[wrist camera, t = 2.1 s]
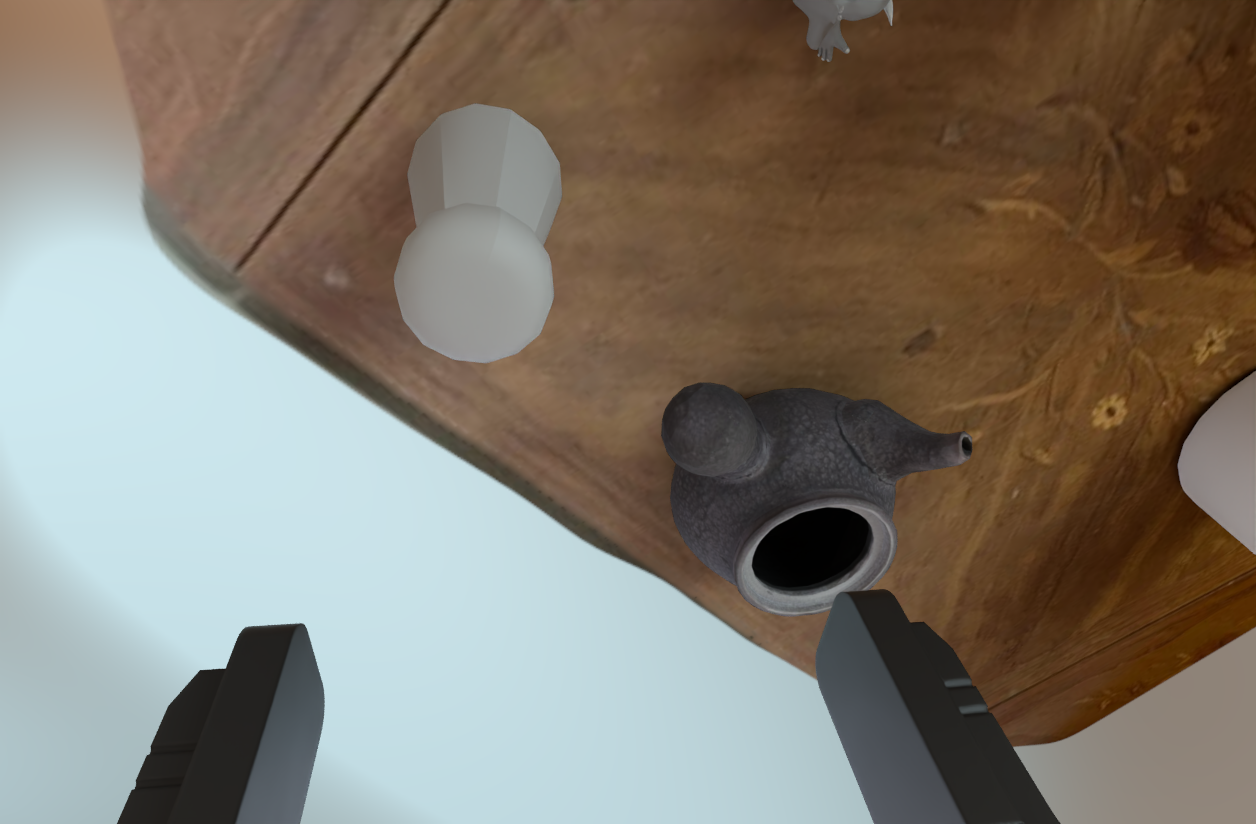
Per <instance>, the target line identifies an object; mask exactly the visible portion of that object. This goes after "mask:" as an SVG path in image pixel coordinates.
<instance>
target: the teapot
mask: <svg viewBox="0 0 1256 824" xmlns="http://www.w3.org/2000/svg"><path fill="white" fill-rule="evenodd" d="M661 436H662V439H663V442H664V445H665V448H666V451H667V453H668V454H669V456H670V457H671V458H672V460H673V461H674V462H675V463H676V466H675V469H674V474H673V479H672V484H671V495H670V500H671V507H672V512H673V517H674V522H675V524H676V526H677V529H678V531H679V533H680V534H681V536H682V538H683V540H684V542H685V543H686V544H687V546H688V547H689V548H690V550H691V551H692V552H693V553H694V554H695V555H696V556H697V558H698V559H699V560H701V561H702V562H703V563H704V564H705V565H706V566H707V567H708V568H710V569H711V570H712V571H714V572H715V573H717V574H718V575H720V576H721V577H723V578H724V579H726V580H727V581H729V582H730V583H732V584H734V585H736V586H737V588H738V591H739V592H740V594H741V595H742V596H743V598H744V599H745V600H746V601H747V602H749V603H750V604H751V605H753V606H754V607H756V608H758V609H760V610H762V611H765V612H769V613H772V614H776V615H781V616H802V615H812V614H817V613H822V612H825V611H828V610H831V608H832V605H833V602H834V599H835V597H836V595H837V594H838V593H840V592H848V591H864V590H869V589H871V588H872V587H873V586H874V585H875V584H876V583H877V582H878V581H879V580H880V579H881V578H882V577H883V576H884V574H885V573H886V572H887V570H888V569H889V568H890V565H891V563H892V561H893V558H894V556H895V553H896V549H897V530H896V528H895V526H894V523H893V521H892V516H893V510H894V504H895V494H896V490H895V484H896V481H897V480H899V479H901V478H903V477H905V476H906V475H908V474H910V473H913V472H921V471H928V470H934V469H941V468H946V467H951V466H956V465H961V464H962V463H964V462H965V461H967V460H968V459H970V456H971V453H972V437H971V436H970V435H969V434H967V433H966V432H965V431H963V432H957V433H951V434H941V433H935V432H930V431H928V430H926V429H924V428H922V427H920V426H919V425H917V424H915V423H913V422H911V421H909V420H908V419H906V418H905V417H903V416H901V415H900V414H898V413H896V412H895V411H894V410H892V409H891V408H889V407H887V406H886V405H884V404H883V403H881V402H880V401H878V400H869V399H863V400H857V401H853V400H851V399H849V398H846V397H844V396H842V395H837V394H833V393H828V392H824V391H819V390H815V389H810V388H791V389H779V390H772V391H769V392H765V393H762V394H758V395H755V396H753V397H750V398H748V399H746V400H744V399H743V397H742V396H741V395H740V394H739V393H737V392H735V391H734V390H732V389H730V388H728V387H726V386H724V385H720V384H714V383H697V384H694V385H691V386H687V387H684V388H683V389H682V390H681V391H680V392H679V393H678V394H677V395H675V396H674V397H673V398H672V400H671V401H670V403H669V404H668V406H667V407H666V409H665V412H664V415H663V419H662V434H661Z"/></svg>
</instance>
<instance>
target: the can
mask: <svg viewBox="0 0 1256 824" xmlns="http://www.w3.org/2000/svg"><path fill="white" fill-rule="evenodd" d="M1177 466H1178V472H1179V478H1180V483H1181V486H1182V488H1183V491H1184V492H1185V493H1186V494H1187V495H1188V496H1189V497H1190V498H1191V499H1192V500H1193V501H1194V502H1195V503H1196V504H1197V505H1198V506H1199V507H1200V508H1201V509H1203V510H1204V511H1205V512H1206V513H1207V514H1208V515H1210V516H1211V517H1212V518H1213V519H1214V520H1215V521H1217V522H1218V523H1219V524H1220V525H1221V526H1222V527H1224V528H1225V529H1226V530H1227V531H1228V532H1229V533H1231V534H1232V535H1233V536H1234V537H1235V538H1236V539H1238V540H1239V541H1240V542H1241V543H1242V544H1243V545H1245V546H1246V547H1247V548H1248V549H1249V550H1250V551H1252V552H1253V553H1254V554H1255V555H1256V371H1255V372H1253V373H1252V374H1251V375H1249V376H1248V377H1246V378H1245V379H1244V380H1242V381H1241V382H1239V383H1238V384H1237V385H1235V386H1234V387H1233V388H1231V389H1230V390H1228V391H1227V392H1226V393H1224V394H1223V395H1222V396H1221V397H1220V398H1219V399H1218V400H1217V401H1216V402H1215V403H1214V404H1213V405H1212V406H1211V407H1210V408H1209V409H1208V410H1207V412H1206V413H1205V414H1204V415H1203V416H1202V417H1201V418H1200V419H1199V420H1198V422H1197V423H1196V425H1195V426H1194V428H1193V430H1192V431H1191V433H1190V434H1189V436H1188V437H1187V439H1186V440H1185V442H1184V444H1183V448H1182V451H1181V454H1180V458H1179V461H1178V465H1177Z"/></svg>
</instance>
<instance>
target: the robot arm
mask: <svg viewBox="0 0 1256 824" xmlns="http://www.w3.org/2000/svg"><path fill="white" fill-rule="evenodd" d="M816 674H817V680H818V684H819V688H820V690H821V693H822V696H823V698H824V701H825V703H826V705H827V708H828V710H829V713H830V715H831V718H832V721H833V723H834V725H835V728H836V730H837V733H838V735H839V738H840V740H841V743H842V745H843V748H844V750H845V753H846V755H847V758H848V760H849V763H850V765H851V768H852V770H853V772H854V775H855V777H856V780H857V782H858V785H859V787H860V790H861V792H862V794H863V797H864V800H865V802H866V805H867V807H868V810H869V812H870V815H871V817H872V820H873V822H874V824H1060V822H1059V821H1058V820H1057V818H1056V817H1055V815H1054V814H1053V812H1052V811H1051V809H1050V808H1049V806H1048V804H1047V803H1046V801H1045V799H1044V798H1043V796H1042V795H1041V793H1040V791H1039V790H1038V788H1037V786H1036V785H1035V783H1034V781H1033V780H1032V778H1031V777H1030V775H1029V773H1028V771H1027V770H1026V768H1025V767H1024V765H1023V763H1022V762H1021V760H1020V759H1019V757H1018V755H1017V753H1016V752H1015V751H1014V749H1013V747H1012V745H1011V744H1010V742H1009V740H1008V739H1007V737H1006V735H1005V734H1004V732H1003V730H1002V729H1001V727H1000V726H999V724H998V722H997V721H996V719H995V717H994V716H993V714H992V713H989V712H988V709H987V707H988V706H987V704H986V703H985V701H984V699H983V698H982V696H981V694H980V693H979V691H978V689H977V688H976V686H974V687H973V685H972V683H971V681H972V680H971V678H970V676H969V675H968V673H967V671H966V670H965V668H964V667H963V665H962V663H961V662H960V660H959V658H958V657H957V655H956V653H955V652H954V650H953V648H951V647H950V646H949V645H948V644H947V643H946V642H945V641H944V640H943V639H942V638H941V637H940V636H938V635H937V634H936V633H935V632H934V631H933V630H932V629H931V628H930V627H929V626H928V625H927V624H925V623H924V622H913V623H910V622H909V620H908V618H907V617H906V615H905V613H904V611H903V610H902V608H901V606H900V604H899V603H898V601H897V599H896V598H895V596H894V595H893V594H892V593H891V592H890V591H888V590H885V589H880V590H864V591H848V592H840V593H838V594H837V595H836V597H835V599H834V602H833V605H832V608H831V611H830V614H829V616H828V619H827V622H826V625H825V628H824V631H823V634H822V637H821V640H820V642H819V645H818V648H817V652H816ZM323 719H324V689H323V684H322V680H321V677H320V673H319V670H318V666H317V663H316V659H315V656H314V652H313V649H312V645H311V642H310V638H309V635H308V631H307V628H306V627H305V625H304V624H301V623H300V624H286V625H285V624H284V625H268V626H251V627H246V628H244V629H243V630H242V631H241V633H240V634H239V636H238V638H237V641H236V643H235V646H234V649H233V651H232V654H231V656H230V659H229V662H228V664H227V667H226V669H212V670H200V671H199V672H198V673H197V674H196V676H195V677H194V678H193V679H192V680H191V681H190V682H189V683H188V685H187V686H186V687H185V688H184V689H183V690H182V692H180V694H179V695H178V696H177V697H176V698H175V699H174V700H173V702H172V703H171V704H170V705H169V706H168V708H167V710H166V713H165V715H164V717H163V720H162V722H161V724H160V726H159V729H158V731H157V734H156V736H155V738H154V740H153V742H152V745H151V752H150V754H149V755H147V756H146V758H145V761H144V763H143V766H142V768H141V770H140V772H139V775H138V777H137V779H136V787H135V789H134V790H132V791H131V793H130V795H129V798H128V800H127V802H126V804H125V807H124V809H123V811H122V814H121V816H120V818H119V820H118V823H117V824H300V821H301V817H302V813H303V808H304V804H305V800H306V796H307V791H308V787H309V783H310V778H311V774H312V770H313V766H314V761H315V757H316V752H317V749H318V744H319V740H320V735H321V731H322V725H323Z"/></svg>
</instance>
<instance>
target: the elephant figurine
mask: <svg viewBox="0 0 1256 824" xmlns="http://www.w3.org/2000/svg"><path fill="white" fill-rule="evenodd" d="M793 2H794V4H795V5H796V6H798V7H799V8H800V9H801V10H802V11H803V12H804V13H805V14H806V15H807V16H808V18H809V27H808V32H807V37H806V39H807V44H808V45H809V47H810V48H811V49H814V50H818V49H819V53H818V57H820V56H822V60H823V61H824V60H827V61H828V62H830V61H831V60H832V55H833V48H834V47H836V48H838V49H840V50H841V51H843V52H844V53H846V54H847V53H849V52H850V50H849V47H848V46H847V44H846V42H845V41H844V39H843V37H842V35H841V30H840V20H842V19H846V20H849V21H856V20H860V19H864V18H868V17H871V16H874V15H876V14H878V13H879V12H880V11H882V10H883V9H884V11H885V13H886V14H887V17H888V19H889V22H890V25H891V26H892V18H893V2H892V0H793Z"/></svg>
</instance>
